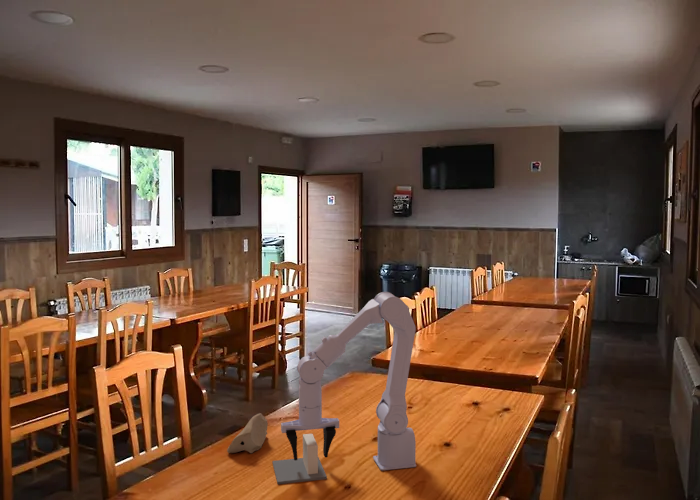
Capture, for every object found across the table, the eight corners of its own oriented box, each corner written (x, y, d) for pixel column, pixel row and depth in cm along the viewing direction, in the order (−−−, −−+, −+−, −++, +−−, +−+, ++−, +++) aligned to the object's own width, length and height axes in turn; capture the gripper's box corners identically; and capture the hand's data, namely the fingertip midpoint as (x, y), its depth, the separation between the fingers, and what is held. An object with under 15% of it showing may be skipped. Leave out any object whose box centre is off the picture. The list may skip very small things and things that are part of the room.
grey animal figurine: (273, 437, 172) (273, 409, 171) (252, 458, 158) (252, 428, 157) (247, 434, 174) (246, 407, 173) (224, 454, 160) (223, 425, 159)
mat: (318, 458, 157) (318, 456, 157) (326, 479, 146) (326, 476, 146) (272, 463, 155) (272, 460, 155) (277, 484, 143) (277, 481, 143)
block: (312, 459, 155) (312, 433, 155) (317, 473, 147) (317, 445, 147) (303, 460, 155) (302, 434, 154) (307, 474, 147) (307, 446, 146)
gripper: (335, 397, 155) (335, 448, 156) (279, 401, 152) (279, 453, 153) (341, 406, 148) (341, 459, 149) (282, 411, 145) (283, 465, 146)
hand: (310, 457), depth 151 cm, fingers open, 7 cm apart
